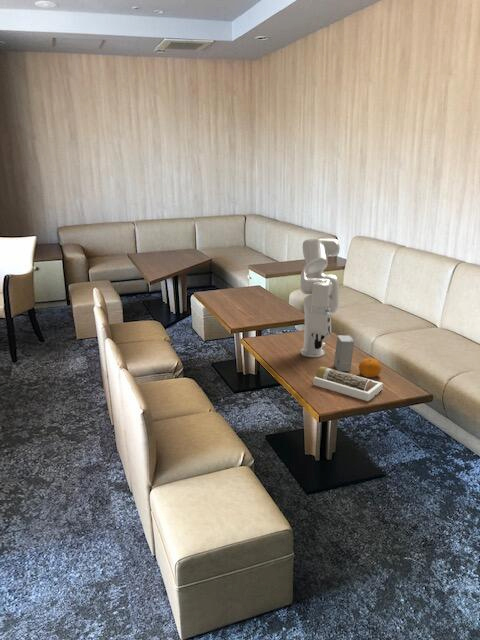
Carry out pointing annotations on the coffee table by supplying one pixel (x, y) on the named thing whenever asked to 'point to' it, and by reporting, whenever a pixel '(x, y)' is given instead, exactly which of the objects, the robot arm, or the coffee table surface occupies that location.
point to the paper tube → (344, 378)
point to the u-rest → (349, 388)
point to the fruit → (370, 367)
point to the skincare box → (343, 353)
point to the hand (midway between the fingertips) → (317, 348)
